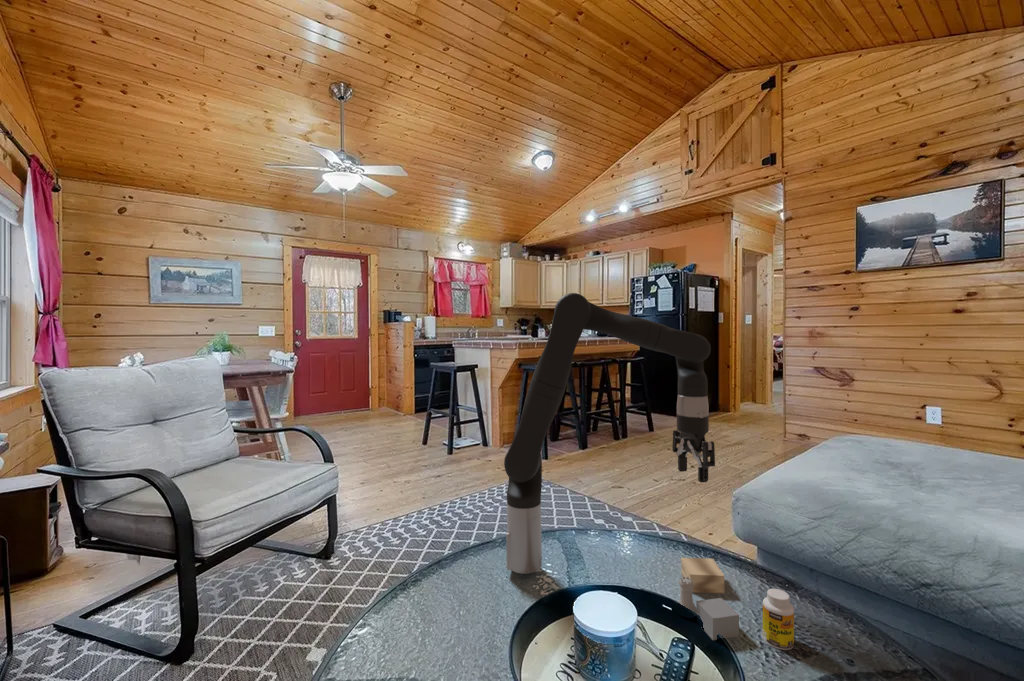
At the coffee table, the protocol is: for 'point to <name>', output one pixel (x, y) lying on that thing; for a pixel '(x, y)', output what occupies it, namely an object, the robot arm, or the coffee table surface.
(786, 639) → the supplement bottle
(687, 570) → the oak block
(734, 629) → the slate block
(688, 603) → the rook chess piece
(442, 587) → the coffee table surface
